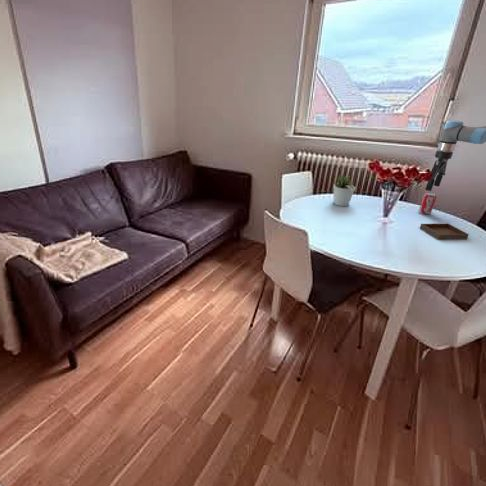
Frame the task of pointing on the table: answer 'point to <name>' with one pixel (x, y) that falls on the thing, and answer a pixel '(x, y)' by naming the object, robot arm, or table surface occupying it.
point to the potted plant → (343, 191)
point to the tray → (444, 231)
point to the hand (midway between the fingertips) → (432, 188)
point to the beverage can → (427, 203)
